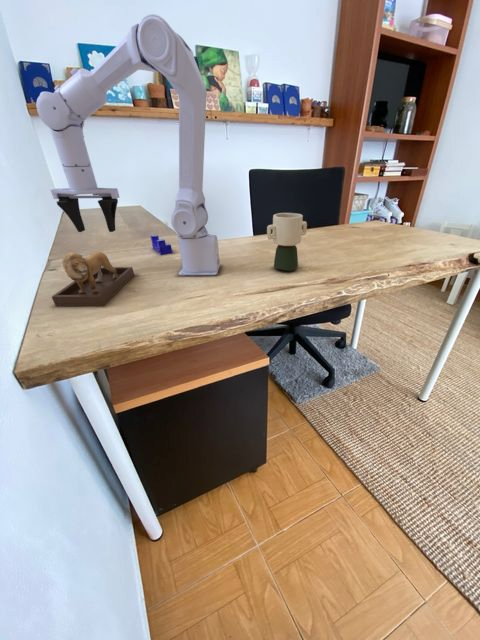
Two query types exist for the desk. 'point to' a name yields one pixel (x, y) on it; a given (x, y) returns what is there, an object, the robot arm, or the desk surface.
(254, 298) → the desk surface
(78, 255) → the lion figurine
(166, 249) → the cable holder
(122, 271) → the brown rectangular tray
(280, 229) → the beige and green trophy
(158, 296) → the desk surface
